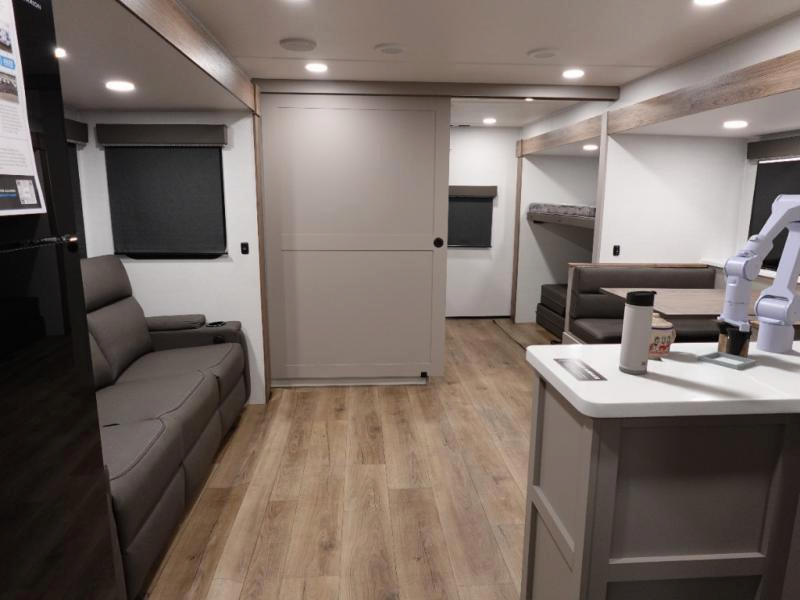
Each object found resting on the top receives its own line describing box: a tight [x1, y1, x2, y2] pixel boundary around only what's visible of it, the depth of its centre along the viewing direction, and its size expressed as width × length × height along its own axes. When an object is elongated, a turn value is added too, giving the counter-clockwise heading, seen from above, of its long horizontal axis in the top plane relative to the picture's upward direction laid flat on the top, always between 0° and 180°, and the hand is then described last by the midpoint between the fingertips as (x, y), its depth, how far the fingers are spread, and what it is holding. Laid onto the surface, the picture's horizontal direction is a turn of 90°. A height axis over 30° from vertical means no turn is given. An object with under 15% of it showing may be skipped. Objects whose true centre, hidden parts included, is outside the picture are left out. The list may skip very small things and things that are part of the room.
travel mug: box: [618, 290, 658, 376], centre depth 130 cm, size 6×7×20 cm
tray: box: [697, 350, 757, 371], centre depth 138 cm, size 10×10×2 cm
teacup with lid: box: [648, 312, 677, 361], centre depth 146 cm, size 12×9×12 cm
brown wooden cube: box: [717, 334, 751, 358], centre depth 145 cm, size 5×5×5 cm
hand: (730, 351), depth 145 cm, fingers open, 6 cm apart
